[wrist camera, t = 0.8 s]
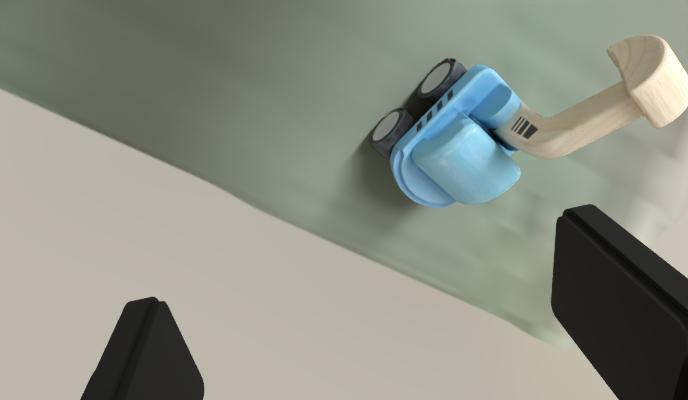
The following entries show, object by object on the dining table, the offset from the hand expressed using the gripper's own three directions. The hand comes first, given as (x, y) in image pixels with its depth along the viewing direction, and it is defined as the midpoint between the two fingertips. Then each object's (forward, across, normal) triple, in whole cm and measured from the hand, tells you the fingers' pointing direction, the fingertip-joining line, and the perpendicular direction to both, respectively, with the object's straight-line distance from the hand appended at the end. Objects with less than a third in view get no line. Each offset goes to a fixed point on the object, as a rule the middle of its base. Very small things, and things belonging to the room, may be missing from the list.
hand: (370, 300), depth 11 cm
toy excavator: (+29, -12, +6) cm, 32 cm away
